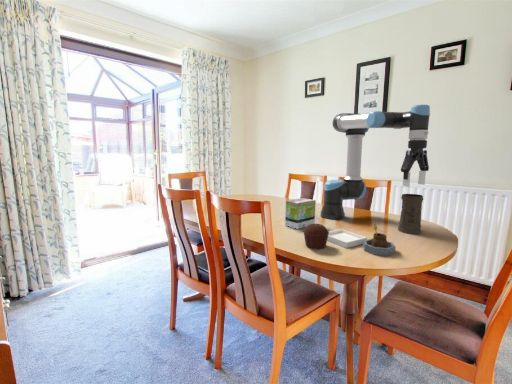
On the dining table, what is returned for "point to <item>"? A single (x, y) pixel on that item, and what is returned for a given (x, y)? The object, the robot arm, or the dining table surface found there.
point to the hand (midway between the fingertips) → (413, 185)
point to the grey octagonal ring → (379, 251)
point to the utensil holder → (379, 239)
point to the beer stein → (411, 214)
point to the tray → (345, 238)
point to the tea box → (300, 213)
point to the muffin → (316, 236)
